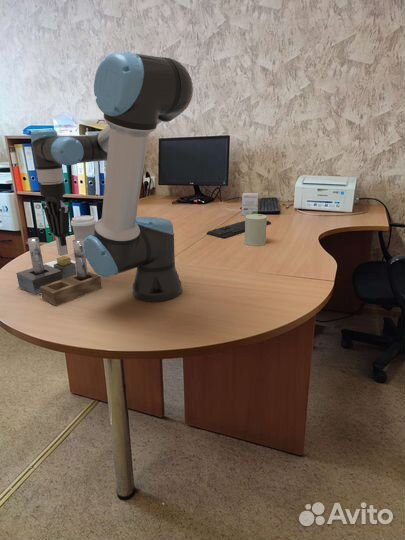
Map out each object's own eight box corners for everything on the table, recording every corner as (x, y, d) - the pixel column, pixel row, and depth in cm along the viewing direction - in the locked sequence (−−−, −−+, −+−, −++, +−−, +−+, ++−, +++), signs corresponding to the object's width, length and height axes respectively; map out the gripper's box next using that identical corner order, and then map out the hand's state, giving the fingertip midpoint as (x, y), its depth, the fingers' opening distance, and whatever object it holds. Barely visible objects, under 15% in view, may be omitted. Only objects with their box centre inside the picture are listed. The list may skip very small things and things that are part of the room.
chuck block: (81, 278, 131) (79, 265, 129) (35, 295, 119) (32, 280, 117) (64, 272, 137) (62, 259, 135) (19, 287, 125) (16, 273, 123)
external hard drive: (34, 270, 141) (65, 261, 150) (46, 275, 136) (77, 265, 145) (33, 266, 140) (64, 257, 149) (45, 271, 135) (76, 261, 144)
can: (270, 242, 166) (271, 214, 162) (257, 247, 160) (258, 219, 155) (252, 238, 172) (253, 211, 168) (239, 243, 166) (240, 215, 161)
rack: (87, 282, 128) (86, 271, 127) (101, 287, 124) (100, 276, 122) (42, 299, 117) (39, 286, 115) (55, 305, 112) (53, 293, 111)
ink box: (257, 214, 215) (258, 192, 211) (257, 216, 211) (258, 194, 207) (242, 213, 217) (242, 192, 212) (241, 215, 212) (242, 194, 208)
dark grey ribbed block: (224, 240, 172) (224, 235, 172) (206, 235, 180) (205, 231, 179) (271, 224, 195) (271, 221, 195) (253, 221, 203) (253, 217, 202)
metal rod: (48, 285, 126) (40, 238, 120) (39, 289, 124) (30, 240, 118) (43, 283, 128) (35, 236, 122) (34, 286, 126) (25, 239, 120)
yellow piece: (72, 274, 132) (70, 257, 130) (64, 277, 130) (61, 260, 128) (67, 272, 134) (64, 255, 132) (59, 274, 132) (56, 258, 129)
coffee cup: (69, 257, 152) (64, 219, 147) (84, 250, 161) (80, 214, 155) (90, 259, 149) (85, 221, 144) (104, 252, 157) (100, 215, 152)
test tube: (91, 288, 123) (85, 240, 118) (83, 291, 121) (76, 242, 115) (85, 286, 125) (79, 238, 120) (77, 289, 123) (70, 240, 117)
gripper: (74, 182, 119) (84, 255, 128) (51, 179, 127) (62, 248, 136) (51, 185, 114) (64, 261, 122) (29, 182, 122) (42, 253, 130)
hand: (63, 254), depth 129 cm, fingers closed
